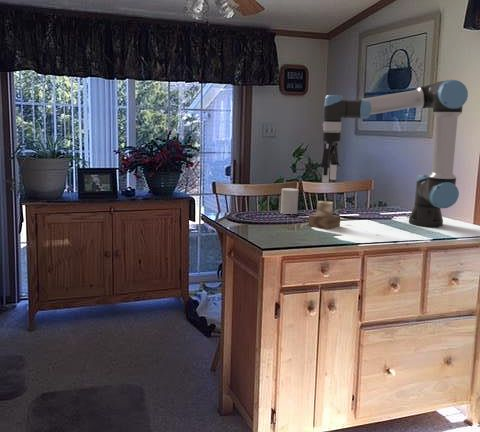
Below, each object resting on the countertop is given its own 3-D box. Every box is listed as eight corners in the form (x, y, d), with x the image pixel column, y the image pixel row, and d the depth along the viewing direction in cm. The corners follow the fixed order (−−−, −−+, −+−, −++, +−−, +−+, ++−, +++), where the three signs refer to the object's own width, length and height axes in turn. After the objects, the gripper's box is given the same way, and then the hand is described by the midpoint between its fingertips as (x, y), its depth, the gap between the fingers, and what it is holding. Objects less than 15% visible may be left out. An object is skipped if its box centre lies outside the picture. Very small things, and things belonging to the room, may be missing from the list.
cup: (278, 212, 266) (279, 188, 263) (293, 211, 268) (294, 188, 266) (284, 215, 258) (285, 190, 256) (299, 215, 260) (301, 190, 258)
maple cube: (332, 215, 238) (333, 201, 237) (330, 217, 233) (331, 203, 231) (318, 213, 240) (319, 200, 239) (316, 216, 234) (317, 202, 233)
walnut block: (339, 227, 238) (340, 216, 237) (327, 230, 230) (328, 218, 229) (320, 223, 244) (321, 212, 243) (308, 226, 237) (308, 215, 236)
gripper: (330, 130, 242) (327, 177, 246) (315, 132, 219) (313, 183, 223) (346, 131, 239) (343, 178, 243) (333, 133, 216) (330, 185, 220)
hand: (329, 181), depth 233 cm, fingers open, 13 cm apart
